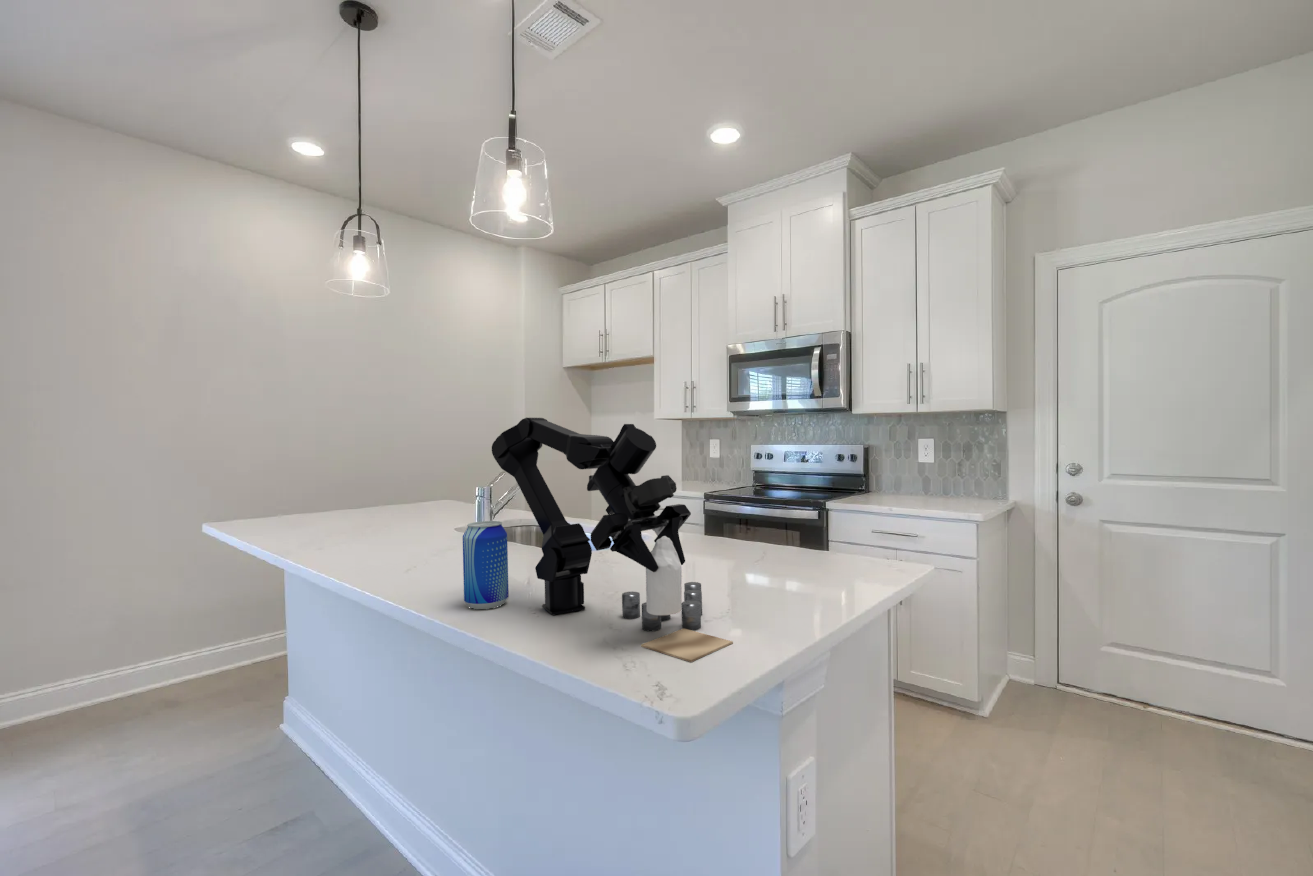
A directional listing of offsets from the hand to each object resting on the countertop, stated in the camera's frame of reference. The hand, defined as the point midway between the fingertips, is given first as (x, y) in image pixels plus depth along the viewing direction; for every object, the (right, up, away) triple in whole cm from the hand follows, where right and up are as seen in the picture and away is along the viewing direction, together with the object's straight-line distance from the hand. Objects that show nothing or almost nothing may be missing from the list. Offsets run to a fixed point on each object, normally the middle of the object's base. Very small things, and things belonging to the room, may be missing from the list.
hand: (670, 566), depth 93 cm
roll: (-1, -7, +1) cm, 7 cm away
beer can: (-35, -13, +23) cm, 44 cm away
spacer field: (+2, -12, +12) cm, 16 cm away
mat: (+3, -12, -2) cm, 12 cm away
